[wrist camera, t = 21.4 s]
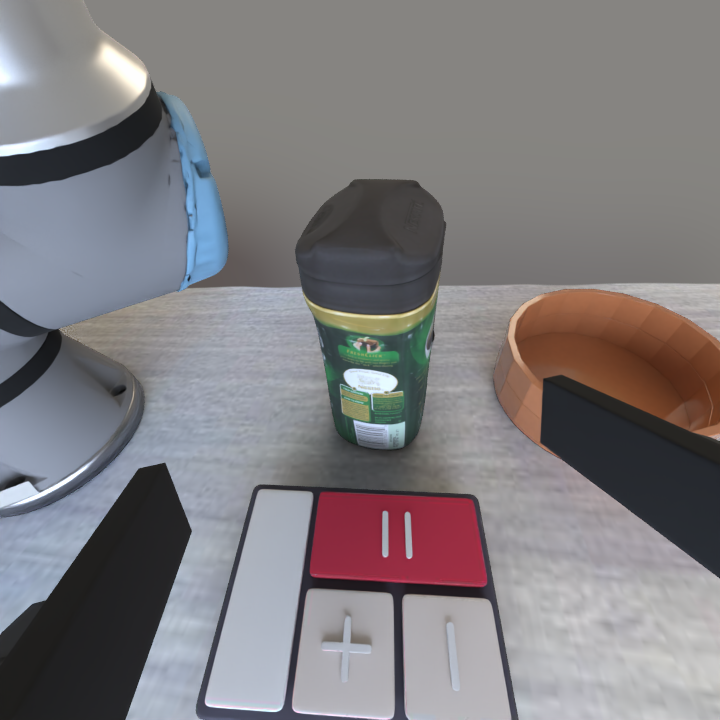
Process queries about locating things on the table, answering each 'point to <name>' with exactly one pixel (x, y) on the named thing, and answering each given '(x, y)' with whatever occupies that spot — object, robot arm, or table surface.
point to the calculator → (359, 611)
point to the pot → (609, 358)
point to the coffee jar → (375, 304)
